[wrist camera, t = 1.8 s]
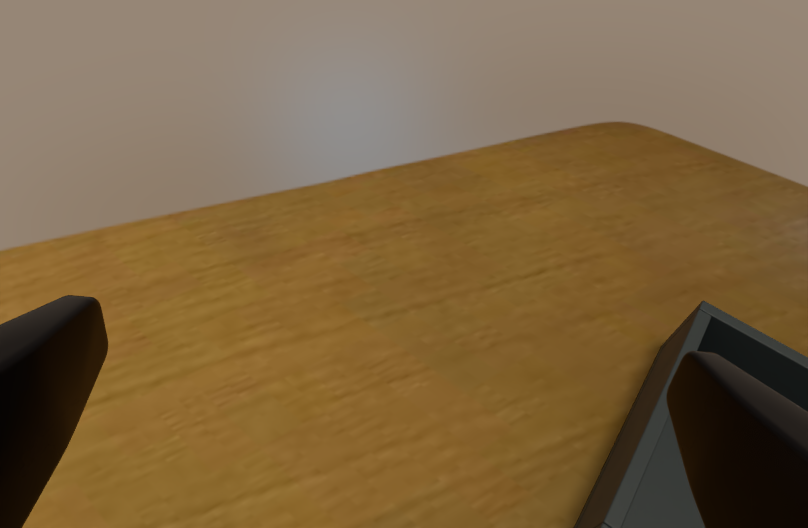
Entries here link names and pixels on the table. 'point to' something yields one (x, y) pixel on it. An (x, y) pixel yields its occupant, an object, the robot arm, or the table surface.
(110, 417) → the table surface
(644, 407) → the bin
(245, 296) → the table surface
